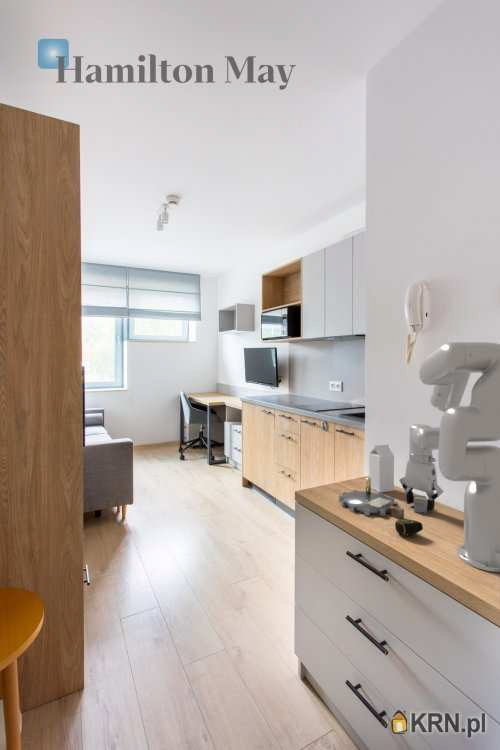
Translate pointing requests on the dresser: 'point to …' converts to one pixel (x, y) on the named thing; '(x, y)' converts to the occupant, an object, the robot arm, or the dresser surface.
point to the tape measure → (408, 526)
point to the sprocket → (368, 501)
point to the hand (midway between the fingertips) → (420, 506)
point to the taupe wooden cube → (397, 512)
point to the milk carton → (381, 468)
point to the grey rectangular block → (420, 504)
